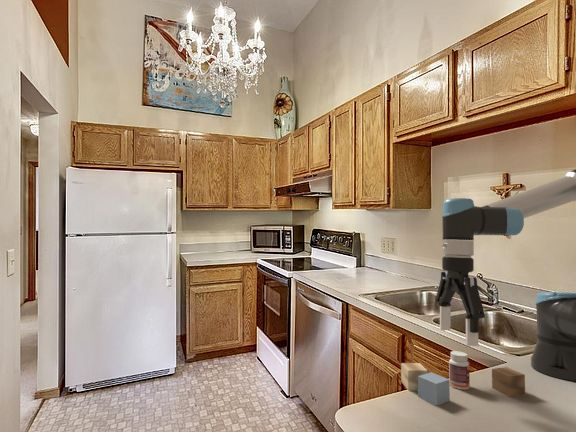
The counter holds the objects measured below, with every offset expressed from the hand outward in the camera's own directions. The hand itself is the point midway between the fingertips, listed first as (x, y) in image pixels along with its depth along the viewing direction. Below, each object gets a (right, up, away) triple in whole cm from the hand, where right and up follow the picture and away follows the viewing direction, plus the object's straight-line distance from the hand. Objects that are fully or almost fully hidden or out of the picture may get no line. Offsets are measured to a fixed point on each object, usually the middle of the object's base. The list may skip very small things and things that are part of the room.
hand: (457, 337), depth 91 cm
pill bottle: (0, -13, -1) cm, 13 cm away
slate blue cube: (-10, -12, -8) cm, 17 cm away
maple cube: (-12, -12, -1) cm, 17 cm away
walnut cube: (+11, -13, -3) cm, 17 cm away
